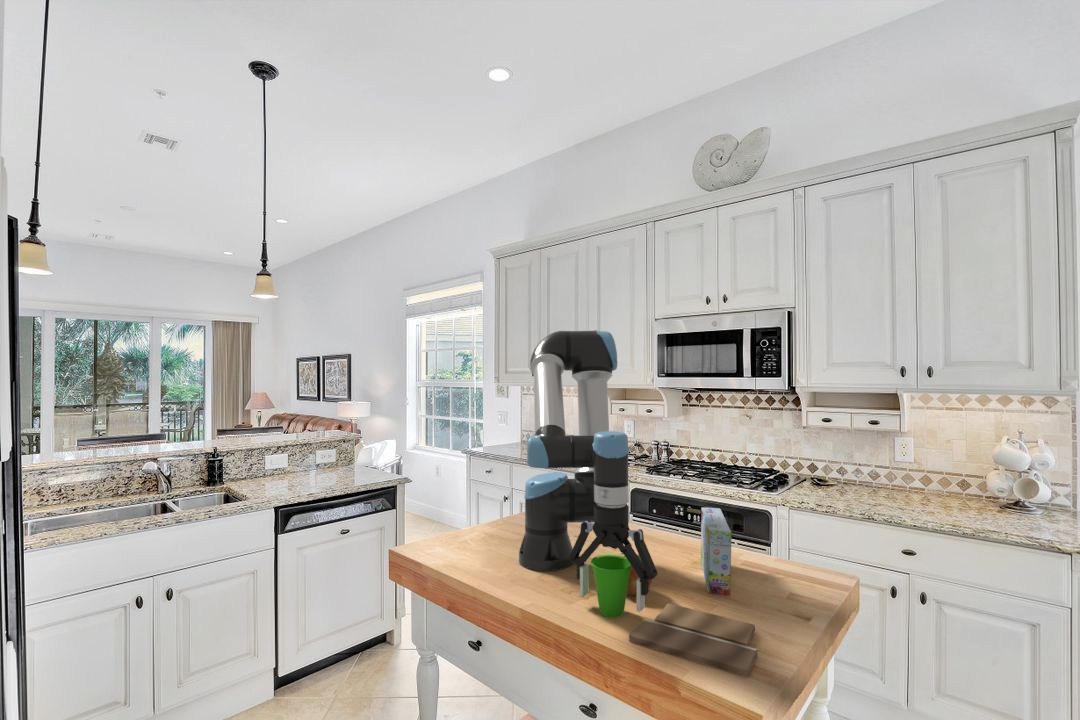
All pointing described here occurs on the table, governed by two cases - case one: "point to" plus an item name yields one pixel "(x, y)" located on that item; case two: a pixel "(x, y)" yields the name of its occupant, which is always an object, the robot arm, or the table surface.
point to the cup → (611, 583)
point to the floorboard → (695, 646)
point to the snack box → (716, 551)
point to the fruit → (633, 581)
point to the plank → (707, 624)
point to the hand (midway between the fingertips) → (611, 601)
